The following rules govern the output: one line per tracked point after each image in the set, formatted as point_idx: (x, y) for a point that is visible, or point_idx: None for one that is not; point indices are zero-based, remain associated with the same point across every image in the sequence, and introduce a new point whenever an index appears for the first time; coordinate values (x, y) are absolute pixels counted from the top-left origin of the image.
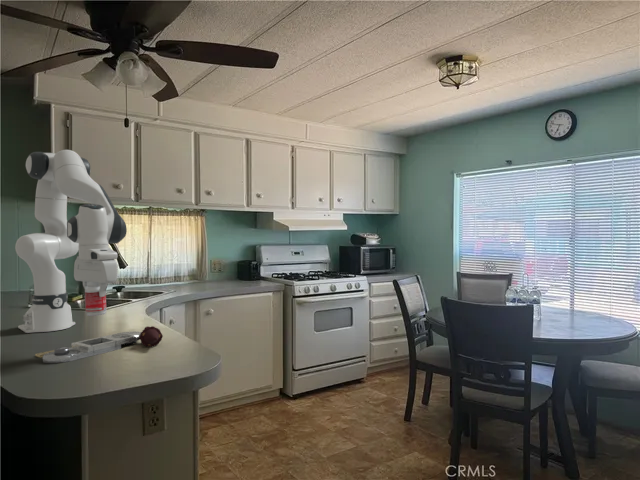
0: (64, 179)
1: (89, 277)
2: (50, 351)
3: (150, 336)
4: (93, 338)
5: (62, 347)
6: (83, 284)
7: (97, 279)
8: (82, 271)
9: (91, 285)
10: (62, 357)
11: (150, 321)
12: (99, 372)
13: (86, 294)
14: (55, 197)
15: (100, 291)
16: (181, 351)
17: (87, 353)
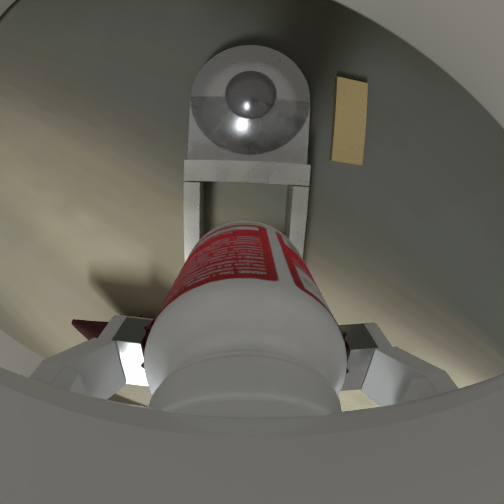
0: None
1: (241, 474)
2: (355, 121)
3: (96, 329)
4: (301, 251)
5: (271, 107)
6: (433, 374)
7: (7, 400)
8: (500, 497)
9: (189, 367)
10: (198, 75)
11: None
12: (34, 109)
13: (241, 269)
14: None
15: (98, 342)
16: (47, 323)
17: (188, 156)
